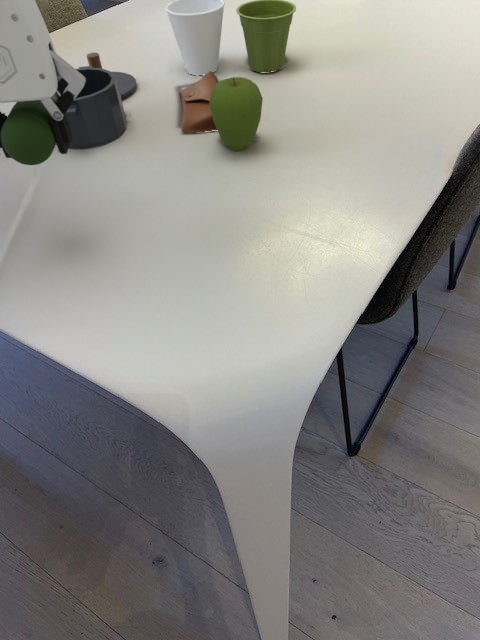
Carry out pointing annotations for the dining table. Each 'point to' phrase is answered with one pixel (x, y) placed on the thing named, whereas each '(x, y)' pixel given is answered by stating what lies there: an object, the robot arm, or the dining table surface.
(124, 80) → the lid
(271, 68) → the plant pot
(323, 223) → the dining table surface
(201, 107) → the sunglasses case
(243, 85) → the apple
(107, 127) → the pot
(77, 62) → the dining table surface
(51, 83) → the robot arm
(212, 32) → the cup
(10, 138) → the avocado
